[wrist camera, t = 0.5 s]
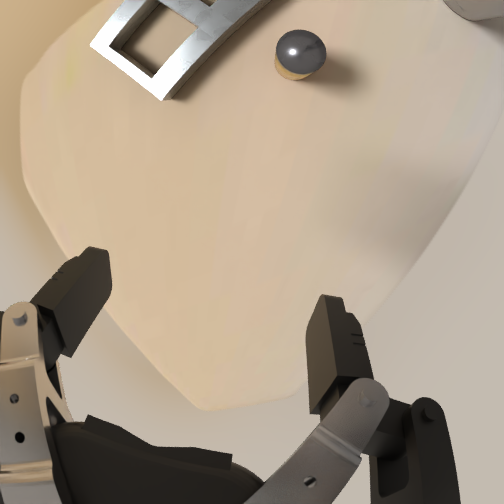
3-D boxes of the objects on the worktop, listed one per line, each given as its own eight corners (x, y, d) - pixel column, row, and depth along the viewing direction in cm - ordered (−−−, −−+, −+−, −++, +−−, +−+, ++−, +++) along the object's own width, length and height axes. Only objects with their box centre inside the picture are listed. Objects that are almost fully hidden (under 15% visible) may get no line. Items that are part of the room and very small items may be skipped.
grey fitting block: (205, -58, 18) (200, -69, 15) (284, -10, 21) (285, -20, 19) (102, 47, 25) (89, 45, 22) (170, 99, 28) (161, 100, 26)
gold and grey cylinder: (293, 39, 24) (300, 21, 18) (320, 64, 26) (336, 54, 19) (266, 62, 26) (265, 50, 19) (294, 87, 27) (302, 83, 20)
